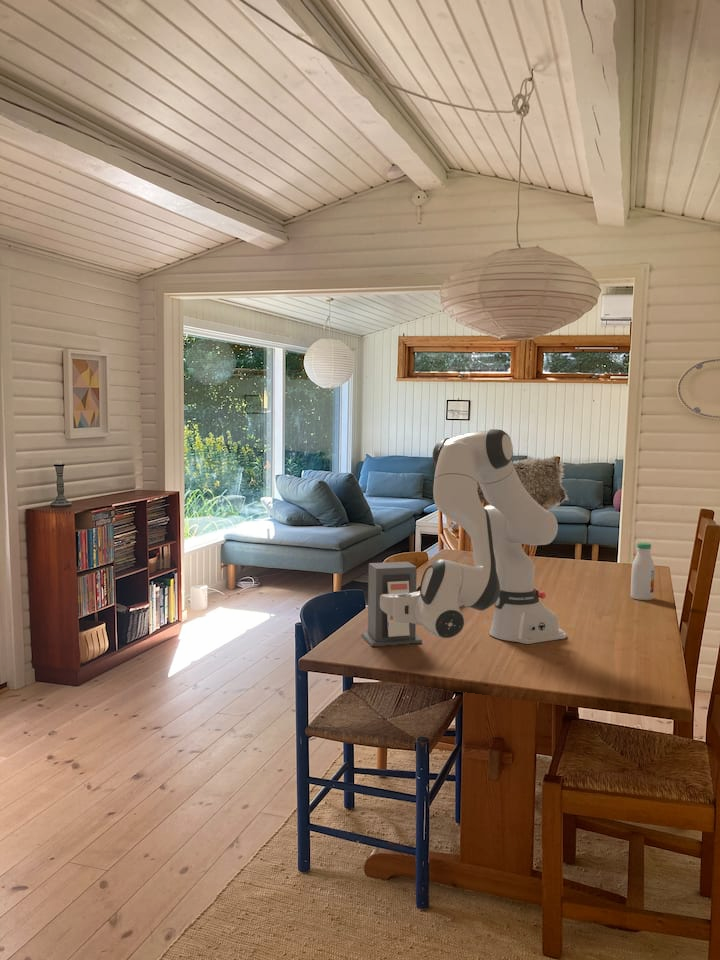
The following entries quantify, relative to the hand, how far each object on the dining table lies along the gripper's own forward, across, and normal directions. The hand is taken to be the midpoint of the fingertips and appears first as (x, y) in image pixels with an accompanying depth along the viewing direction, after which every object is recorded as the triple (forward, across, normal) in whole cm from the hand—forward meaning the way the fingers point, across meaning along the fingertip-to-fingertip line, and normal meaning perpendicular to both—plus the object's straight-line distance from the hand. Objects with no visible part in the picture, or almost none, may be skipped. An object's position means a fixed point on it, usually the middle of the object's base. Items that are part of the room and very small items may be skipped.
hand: (410, 594), depth 209 cm
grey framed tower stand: (+17, 0, +17) cm, 24 cm away
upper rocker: (+10, 0, +6) cm, 11 cm away
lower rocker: (+10, 0, +14) cm, 17 cm away
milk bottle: (+46, -103, +16) cm, 114 cm away
